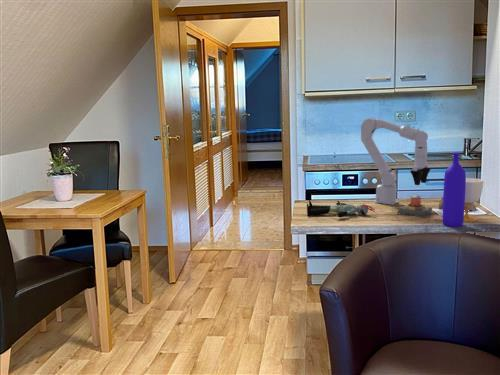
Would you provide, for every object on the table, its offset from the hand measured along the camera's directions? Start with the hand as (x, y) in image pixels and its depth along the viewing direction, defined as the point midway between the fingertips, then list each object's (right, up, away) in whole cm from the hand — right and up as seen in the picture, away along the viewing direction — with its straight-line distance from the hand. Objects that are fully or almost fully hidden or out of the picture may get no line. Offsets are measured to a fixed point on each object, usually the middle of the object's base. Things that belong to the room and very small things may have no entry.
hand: (420, 183), depth 250 cm
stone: (+15, -12, -8) cm, 21 cm away
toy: (-41, -15, -14) cm, 46 cm away
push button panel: (-8, -14, -16) cm, 22 cm away
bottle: (+1, -17, -38) cm, 42 cm away
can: (-8, -11, -17) cm, 21 cm away
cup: (+10, -16, -29) cm, 34 cm away
